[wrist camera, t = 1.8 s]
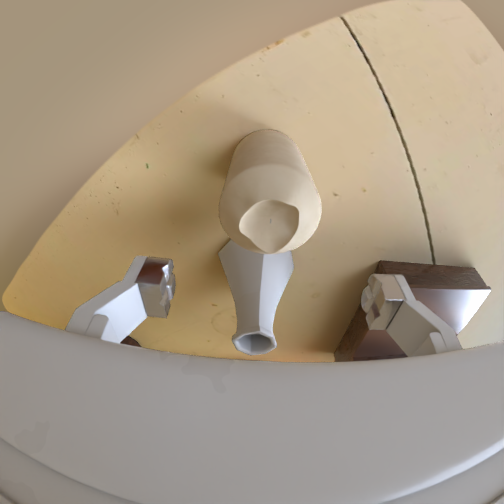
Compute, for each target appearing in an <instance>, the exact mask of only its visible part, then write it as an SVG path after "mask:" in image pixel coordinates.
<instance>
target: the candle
mask: <svg viewBox="0 0 504 504" xmlns="http://www.w3.org/2000/svg"><path fill="white" fill-rule="evenodd" d="M321 212H322V207H321V200H320V197H319V194H318V191H317V189H316V186H315V184H314V182H313V179H312V177H311V175H310V172H309V170H308V168H307V165H306V163H305V161H304V159H303V156H302V154H301V152H300V150H299V148H298V147H297V145H296V144H295V142H294V141H293V140H292V139H291V138H289V137H288V136H287V135H285V134H283V133H281V132H278V131H275V130H259V131H256V132H253V133H251V134H249V135H247V136H246V137H245V138H243V139H242V140H241V141H240V143H239V144H238V145H237V147H236V149H235V151H234V154H233V157H232V160H231V163H230V167H229V170H228V173H227V177H226V180H225V184H224V187H223V191H222V194H221V198H220V202H219V218H220V222H221V224H222V227H223V229H224V231H225V232H226V234H227V235H228V236H229V237H230V238H231V239H232V240H233V241H234V242H235V243H236V244H238V245H239V246H241V247H242V248H244V249H247V250H249V251H252V252H255V253H260V254H279V253H284V252H287V251H291V250H293V249H295V248H297V247H299V246H300V245H302V244H303V243H305V242H306V241H307V240H308V239H309V238H310V237H311V236H312V235H313V233H314V232H315V230H316V229H317V227H318V224H319V222H320V218H321Z"/></svg>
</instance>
